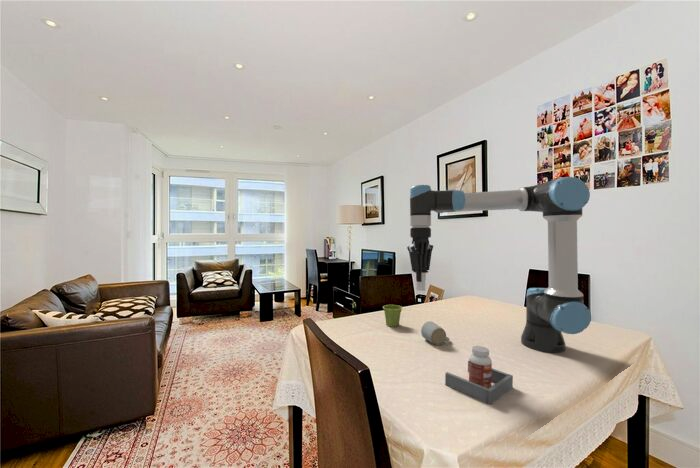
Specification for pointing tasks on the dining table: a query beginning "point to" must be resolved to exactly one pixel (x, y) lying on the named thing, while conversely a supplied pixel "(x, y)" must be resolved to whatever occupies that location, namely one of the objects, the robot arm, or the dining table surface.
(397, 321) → the plant pot
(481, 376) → the pill bottle
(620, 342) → the dining table surface
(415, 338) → the dining table surface
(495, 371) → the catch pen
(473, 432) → the dining table surface
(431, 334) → the ceramic mug
